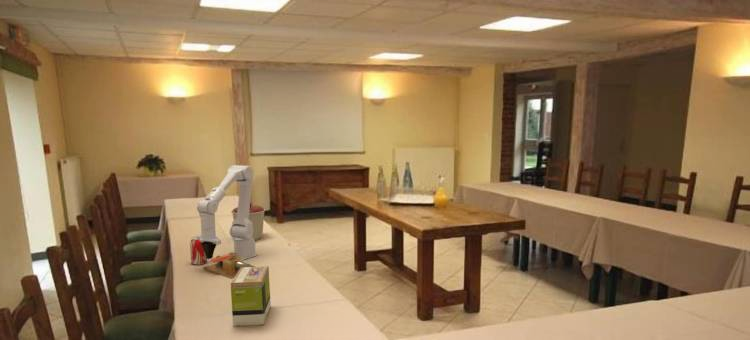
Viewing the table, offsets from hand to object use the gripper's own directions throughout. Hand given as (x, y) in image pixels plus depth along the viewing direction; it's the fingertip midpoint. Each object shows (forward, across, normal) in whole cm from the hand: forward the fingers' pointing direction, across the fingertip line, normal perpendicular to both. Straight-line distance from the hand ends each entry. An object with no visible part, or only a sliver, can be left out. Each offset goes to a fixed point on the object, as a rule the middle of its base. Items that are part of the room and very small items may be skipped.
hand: (209, 258), depth 190 cm
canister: (+6, -27, +44) cm, 51 cm away
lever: (0, +6, +3) cm, 7 cm away
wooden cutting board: (+6, +6, +7) cm, 11 cm away
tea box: (+6, +50, -19) cm, 54 cm away
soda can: (+6, -13, +4) cm, 15 cm away
